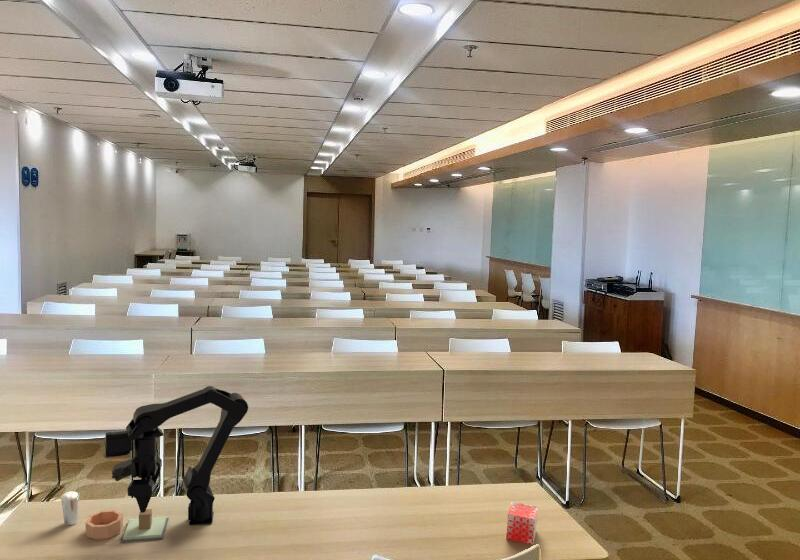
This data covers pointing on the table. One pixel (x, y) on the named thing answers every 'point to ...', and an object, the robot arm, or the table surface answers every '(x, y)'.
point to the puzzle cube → (522, 523)
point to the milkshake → (70, 507)
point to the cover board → (147, 532)
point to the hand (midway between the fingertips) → (145, 504)
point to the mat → (146, 538)
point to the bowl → (104, 524)
